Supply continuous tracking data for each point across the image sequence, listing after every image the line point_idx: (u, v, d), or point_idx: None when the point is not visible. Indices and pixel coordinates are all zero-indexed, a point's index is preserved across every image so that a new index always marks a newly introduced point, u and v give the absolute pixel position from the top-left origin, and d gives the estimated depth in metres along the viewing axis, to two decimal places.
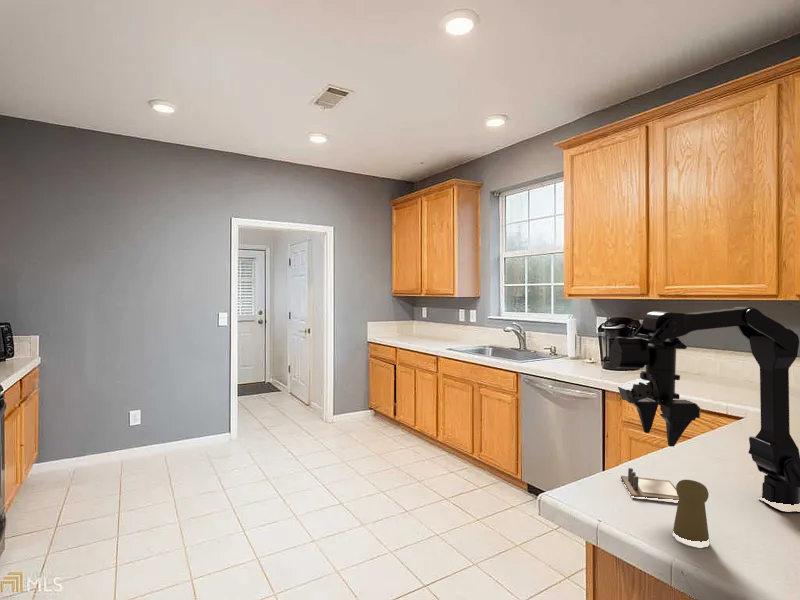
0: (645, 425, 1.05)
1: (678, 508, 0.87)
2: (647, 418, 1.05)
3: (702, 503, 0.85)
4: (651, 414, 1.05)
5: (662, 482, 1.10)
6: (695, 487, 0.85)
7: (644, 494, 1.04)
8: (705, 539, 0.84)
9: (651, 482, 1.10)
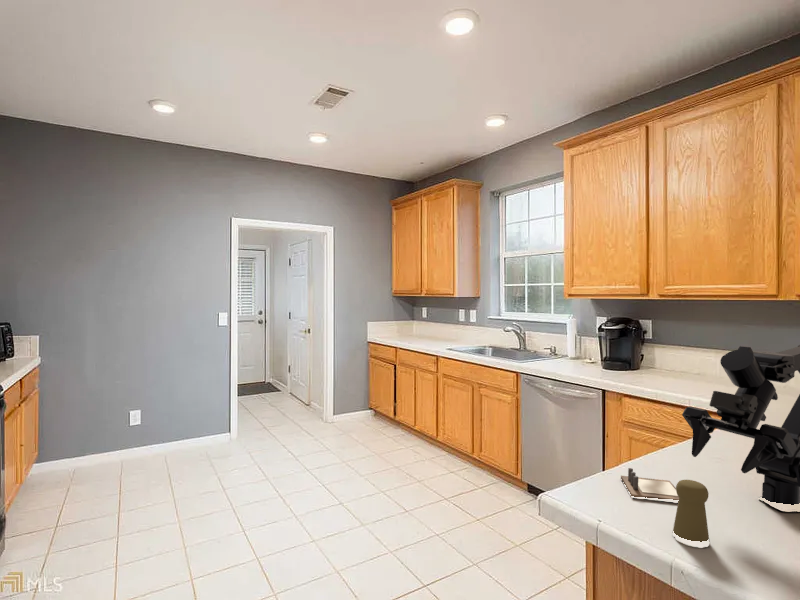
0: (697, 448, 0.95)
1: (678, 508, 0.87)
2: (700, 443, 0.96)
3: (702, 503, 0.85)
4: (704, 442, 0.96)
5: (662, 482, 1.10)
6: (695, 487, 0.85)
7: (644, 494, 1.04)
8: (705, 539, 0.84)
9: (651, 482, 1.10)
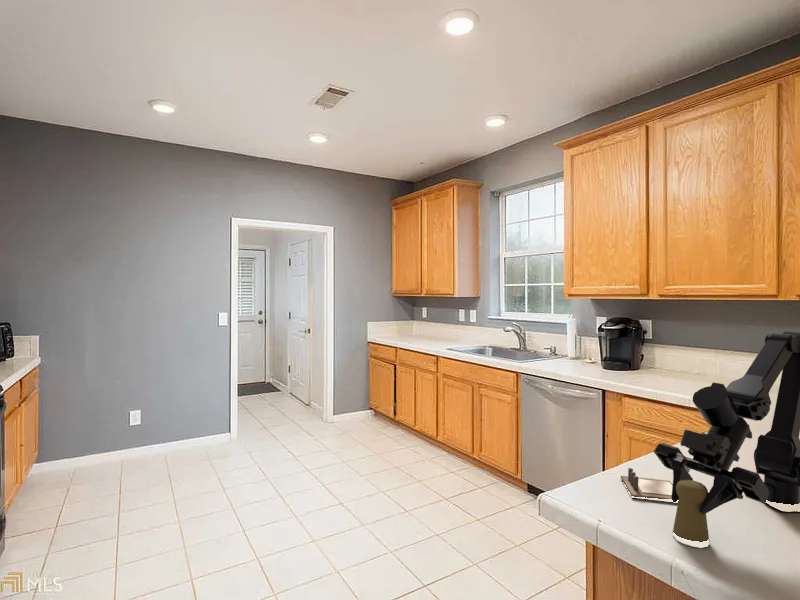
0: None
1: (678, 508, 0.87)
2: None
3: None
4: None
5: (662, 482, 1.10)
6: (695, 487, 0.85)
7: (644, 494, 1.04)
8: (705, 539, 0.84)
9: (651, 482, 1.10)
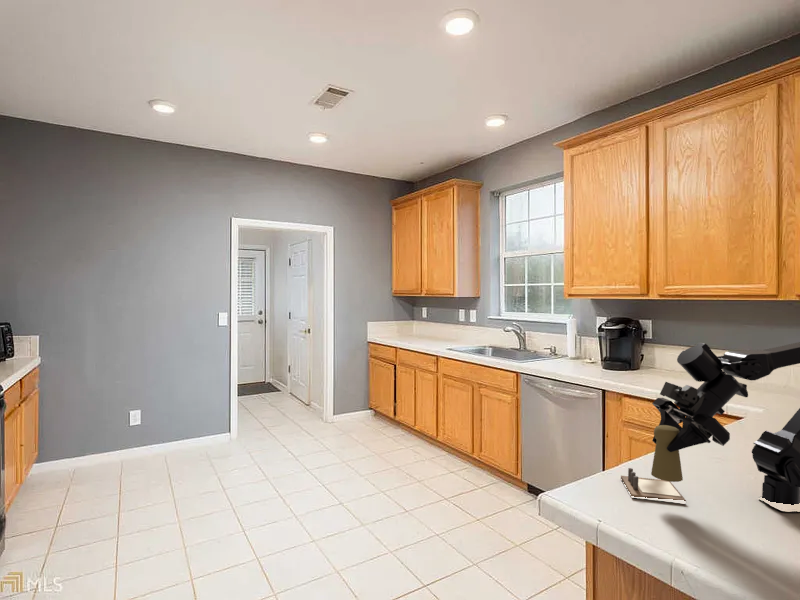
0: None
1: None
2: None
3: None
4: None
5: (662, 482, 1.10)
6: (665, 429, 0.99)
7: (644, 494, 1.04)
8: (673, 474, 0.97)
9: (651, 482, 1.10)
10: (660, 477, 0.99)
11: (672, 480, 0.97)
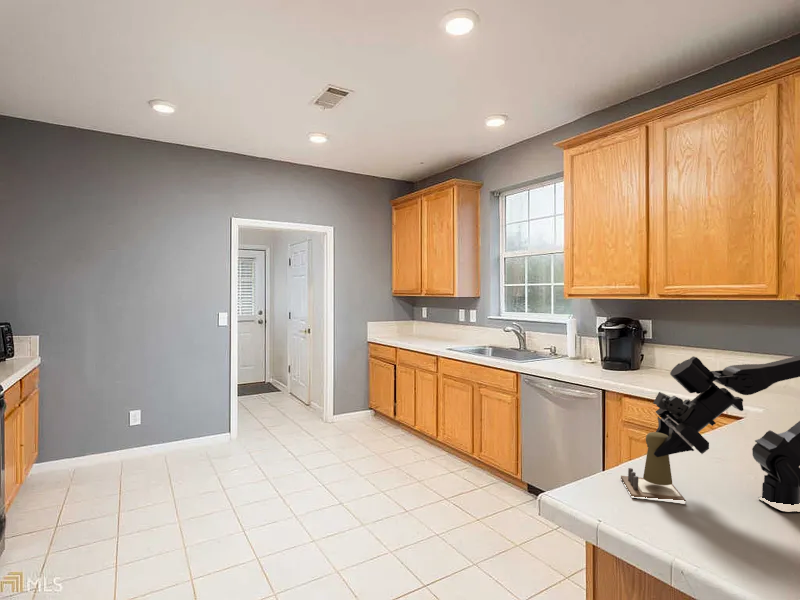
0: None
1: None
2: None
3: None
4: None
5: None
6: (654, 435, 1.06)
7: (644, 494, 1.04)
8: (660, 478, 1.05)
9: None
10: (648, 479, 1.06)
11: (658, 483, 1.05)
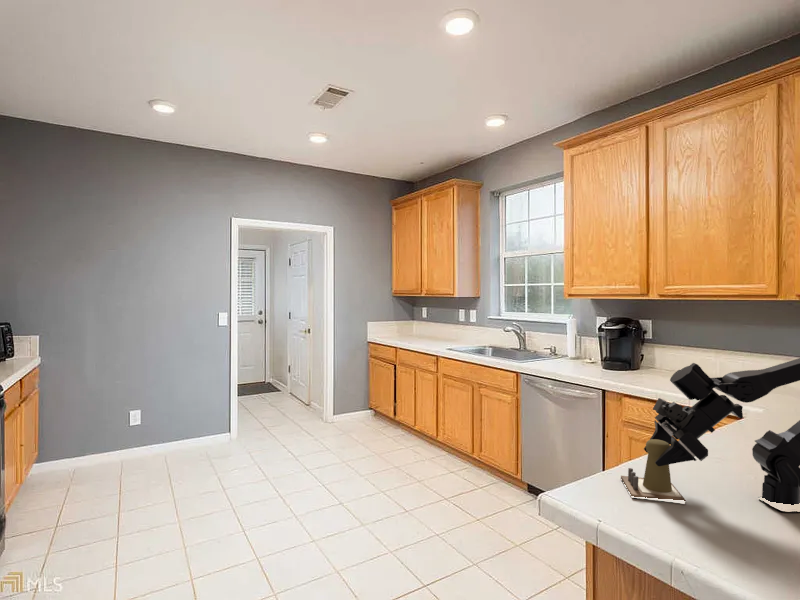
0: None
1: None
2: None
3: (659, 456, 1.05)
4: None
5: None
6: (654, 442, 1.06)
7: (644, 494, 1.04)
8: (660, 485, 1.05)
9: None
10: (648, 487, 1.06)
11: (658, 490, 1.05)
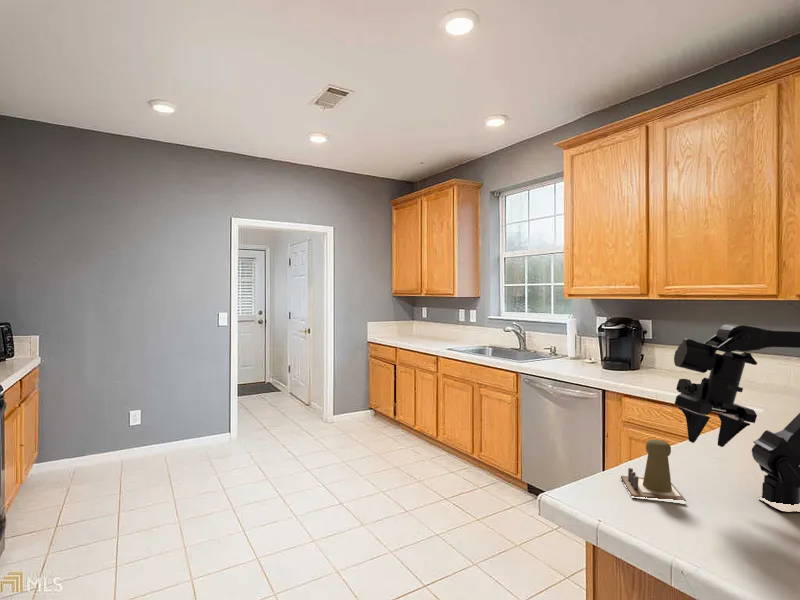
0: (719, 438, 1.06)
1: None
2: (725, 433, 1.05)
3: (659, 456, 1.05)
4: (730, 431, 1.04)
5: None
6: (654, 442, 1.06)
7: (644, 494, 1.04)
8: (660, 485, 1.05)
9: None
10: (648, 487, 1.06)
11: (658, 490, 1.05)
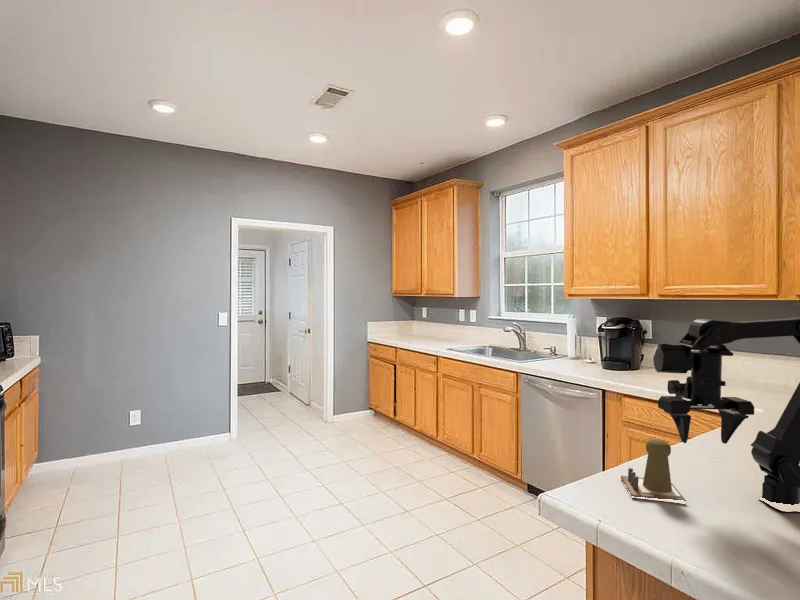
0: (722, 434, 1.04)
1: None
2: (726, 429, 1.03)
3: (659, 456, 1.05)
4: (729, 426, 1.03)
5: None
6: (654, 442, 1.06)
7: (644, 494, 1.04)
8: (660, 485, 1.05)
9: None
10: (648, 487, 1.06)
11: (658, 490, 1.05)
